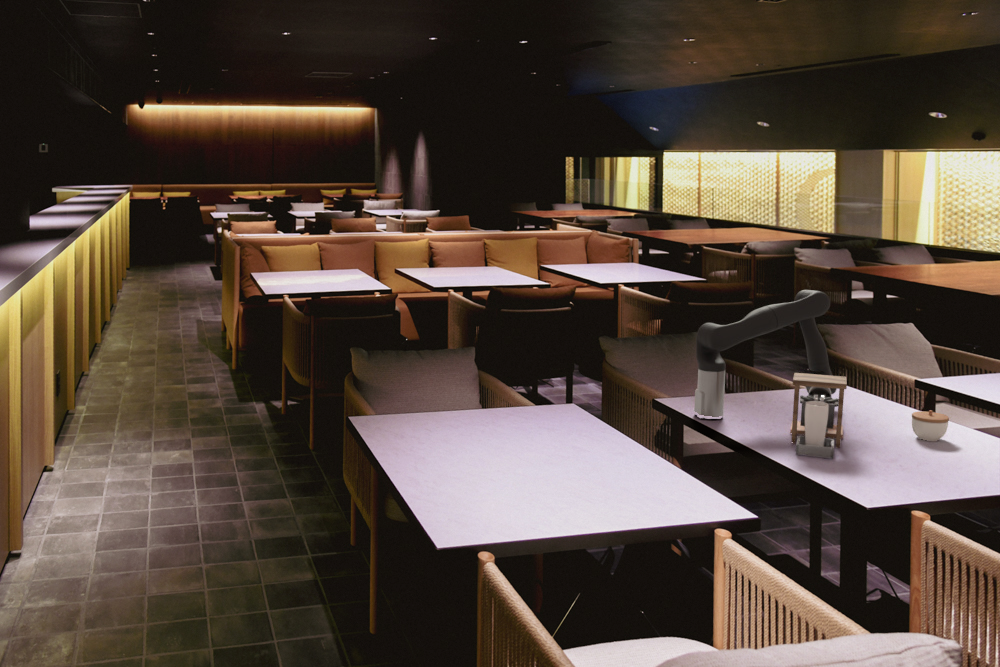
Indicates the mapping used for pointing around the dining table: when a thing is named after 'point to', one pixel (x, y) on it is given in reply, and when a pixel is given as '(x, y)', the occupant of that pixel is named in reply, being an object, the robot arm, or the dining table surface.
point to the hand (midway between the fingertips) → (818, 406)
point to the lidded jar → (929, 425)
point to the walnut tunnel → (818, 381)
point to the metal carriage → (828, 443)
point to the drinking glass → (815, 422)
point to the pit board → (829, 433)
